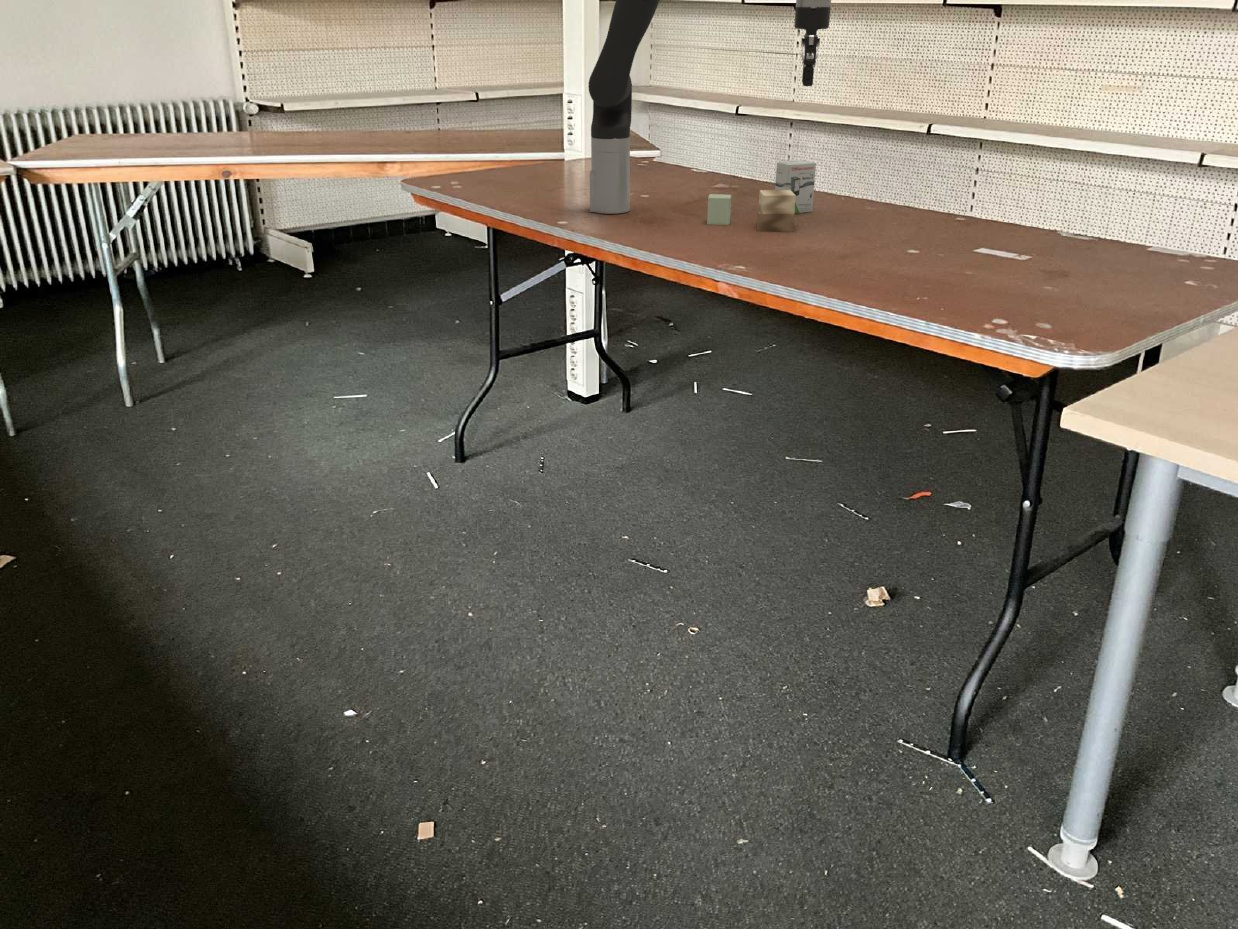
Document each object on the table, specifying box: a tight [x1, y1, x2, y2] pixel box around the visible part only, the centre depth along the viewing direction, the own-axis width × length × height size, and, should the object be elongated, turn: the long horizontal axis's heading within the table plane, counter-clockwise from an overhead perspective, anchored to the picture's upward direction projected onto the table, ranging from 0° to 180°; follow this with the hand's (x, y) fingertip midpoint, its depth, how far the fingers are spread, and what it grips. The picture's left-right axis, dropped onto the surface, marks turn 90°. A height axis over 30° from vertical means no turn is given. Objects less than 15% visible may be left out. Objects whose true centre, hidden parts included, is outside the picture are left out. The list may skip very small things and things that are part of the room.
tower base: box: [756, 208, 795, 233], centre depth 219 cm, size 8×8×4 cm
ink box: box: [774, 159, 817, 214], centre depth 234 cm, size 9×5×12 cm, turn 119°
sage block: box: [706, 193, 732, 226], centre depth 224 cm, size 5×5×6 cm
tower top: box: [758, 189, 796, 215], centre depth 217 cm, size 7×7×4 cm
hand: (807, 84), depth 219 cm, fingers open, 8 cm apart
